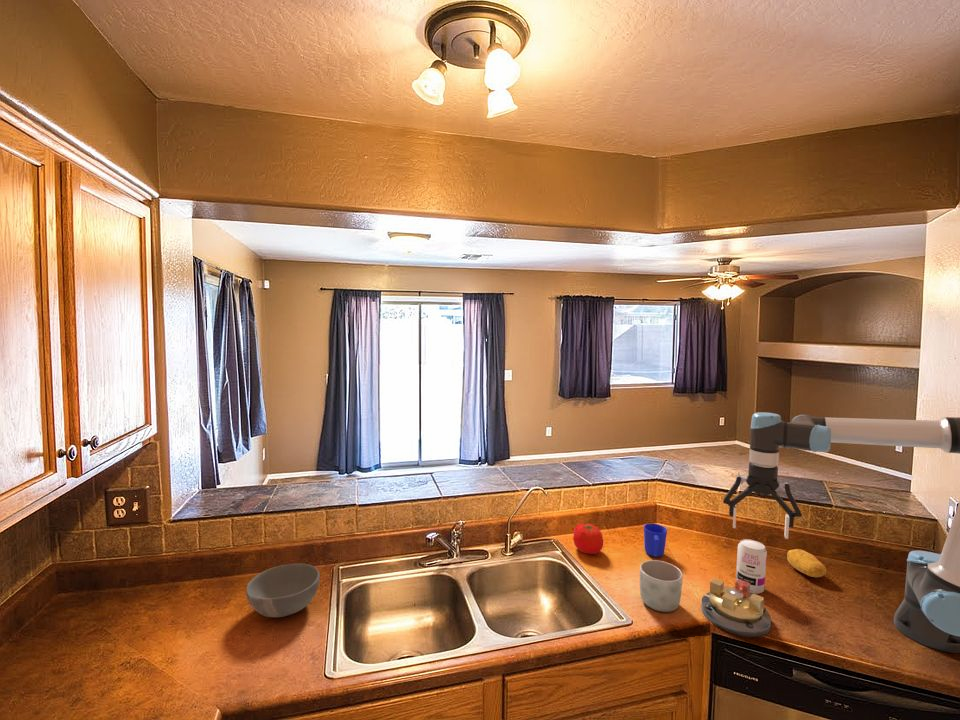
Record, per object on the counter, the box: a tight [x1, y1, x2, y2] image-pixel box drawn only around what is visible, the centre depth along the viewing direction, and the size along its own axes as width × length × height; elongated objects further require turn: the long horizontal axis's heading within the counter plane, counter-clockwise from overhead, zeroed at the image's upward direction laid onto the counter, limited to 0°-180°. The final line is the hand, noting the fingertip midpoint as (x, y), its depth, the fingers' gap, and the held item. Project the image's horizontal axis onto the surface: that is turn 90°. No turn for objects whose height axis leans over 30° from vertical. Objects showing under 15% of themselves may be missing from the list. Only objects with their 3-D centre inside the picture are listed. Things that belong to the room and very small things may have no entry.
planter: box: [639, 559, 684, 613], centre depth 141 cm, size 12×12×11 cm
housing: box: [700, 589, 772, 638], centre depth 136 cm, size 18×18×8 cm
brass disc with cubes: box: [709, 577, 765, 623], centre depth 136 cm, size 14×14×6 cm
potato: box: [786, 548, 827, 578], centre depth 160 cm, size 8×14×7 cm, turn 1°
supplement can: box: [735, 538, 768, 595], centre depth 150 cm, size 8×8×15 cm
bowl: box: [245, 562, 320, 618], centre depth 136 cm, size 20×20×10 cm
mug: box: [643, 523, 668, 558], centre depth 171 cm, size 8×12×10 cm
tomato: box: [572, 522, 604, 555], centre depth 174 cm, size 11×13×10 cm
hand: (759, 531), depth 139 cm, fingers open, 13 cm apart
